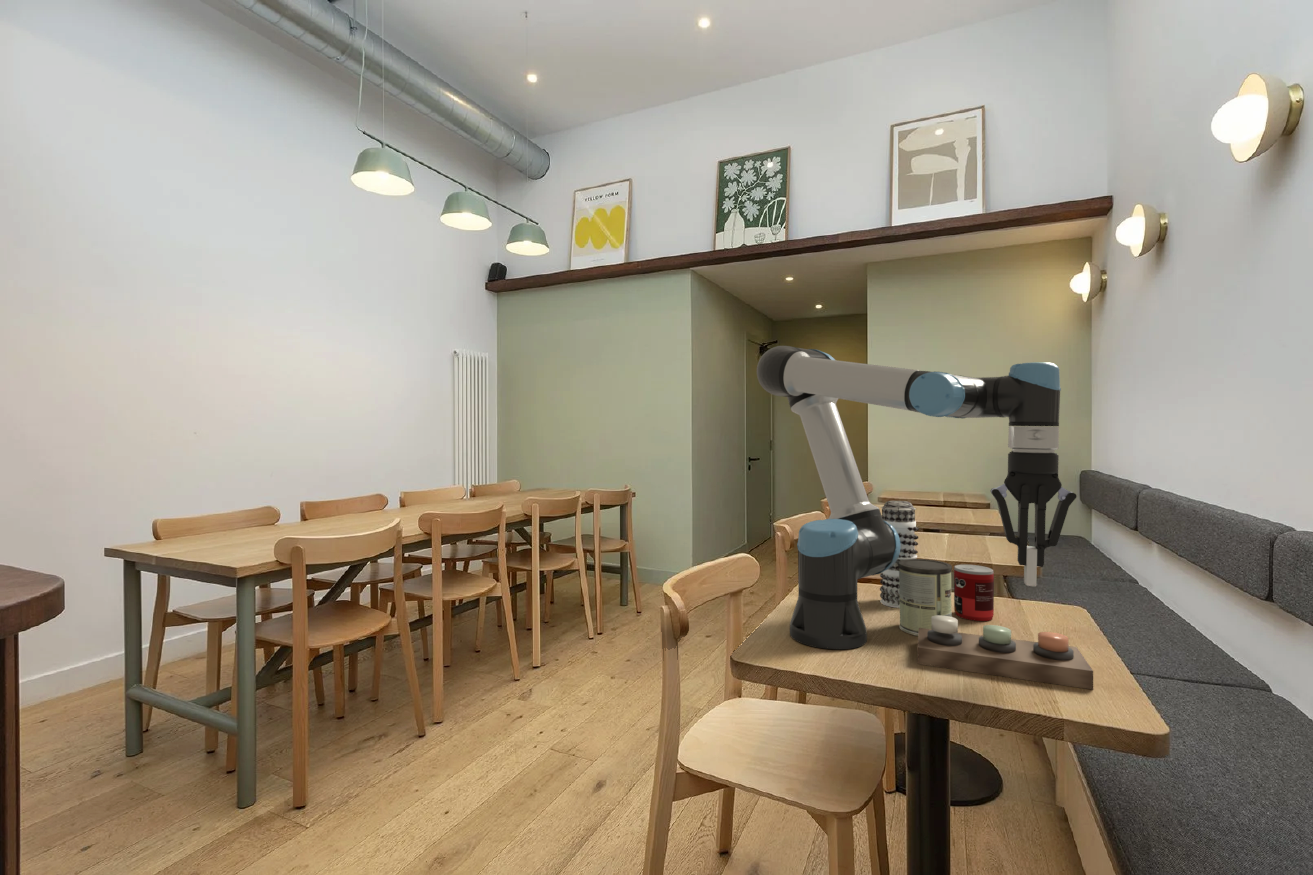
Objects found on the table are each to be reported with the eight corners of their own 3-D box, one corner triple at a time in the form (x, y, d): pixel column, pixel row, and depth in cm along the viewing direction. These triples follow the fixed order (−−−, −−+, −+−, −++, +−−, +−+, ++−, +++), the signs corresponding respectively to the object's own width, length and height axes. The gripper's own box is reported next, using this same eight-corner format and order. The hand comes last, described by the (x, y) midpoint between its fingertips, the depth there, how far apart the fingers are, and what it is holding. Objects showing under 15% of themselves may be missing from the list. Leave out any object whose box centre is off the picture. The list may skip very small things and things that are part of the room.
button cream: (931, 631, 109) (931, 620, 109) (931, 624, 113) (931, 614, 113) (958, 634, 107) (958, 623, 107) (957, 627, 111) (957, 617, 111)
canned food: (957, 609, 140) (956, 562, 140) (995, 615, 135) (995, 567, 135) (951, 617, 133) (951, 568, 133) (991, 623, 129) (991, 573, 129)
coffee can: (899, 619, 132) (899, 556, 132) (951, 626, 127) (951, 561, 127) (897, 633, 122) (897, 566, 122) (952, 641, 118) (952, 570, 118)
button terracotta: (1040, 649, 101) (1040, 638, 101) (1036, 641, 105) (1036, 630, 105) (1071, 653, 100) (1071, 641, 100) (1065, 645, 104) (1065, 633, 104)
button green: (984, 642, 105) (984, 630, 105) (982, 634, 109) (982, 623, 109) (1012, 645, 103) (1012, 634, 103) (1009, 637, 107) (1009, 626, 107)
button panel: (917, 663, 106) (917, 641, 106) (918, 642, 117) (918, 622, 117) (1093, 689, 95) (1093, 664, 95) (1076, 663, 106) (1076, 640, 106)
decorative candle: (908, 598, 149) (908, 499, 149) (926, 608, 140) (925, 503, 140) (872, 598, 149) (872, 499, 149) (888, 609, 140) (887, 504, 140)
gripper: (992, 450, 103) (990, 584, 103) (1082, 452, 98) (1079, 594, 98) (988, 449, 110) (985, 575, 110) (1072, 451, 105) (1069, 583, 105)
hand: (1030, 583), depth 104 cm, fingers closed
